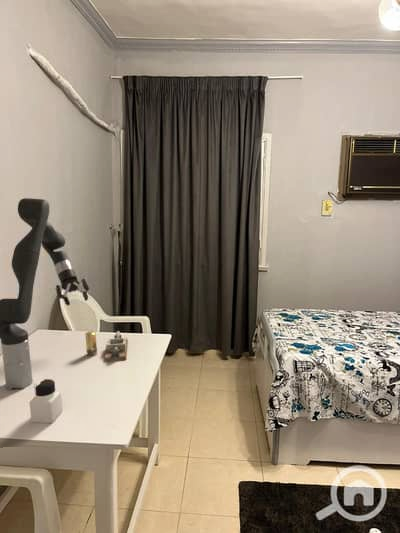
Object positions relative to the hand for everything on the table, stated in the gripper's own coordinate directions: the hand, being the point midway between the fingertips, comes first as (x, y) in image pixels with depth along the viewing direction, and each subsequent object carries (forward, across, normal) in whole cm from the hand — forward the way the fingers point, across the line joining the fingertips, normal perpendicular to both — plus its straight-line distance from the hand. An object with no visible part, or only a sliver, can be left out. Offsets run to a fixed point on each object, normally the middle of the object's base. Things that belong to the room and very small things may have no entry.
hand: (77, 302), depth 177 cm
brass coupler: (+24, -2, +4) cm, 25 cm away
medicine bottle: (+44, -34, -30) cm, 63 cm away
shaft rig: (+27, +9, +1) cm, 29 cm away
